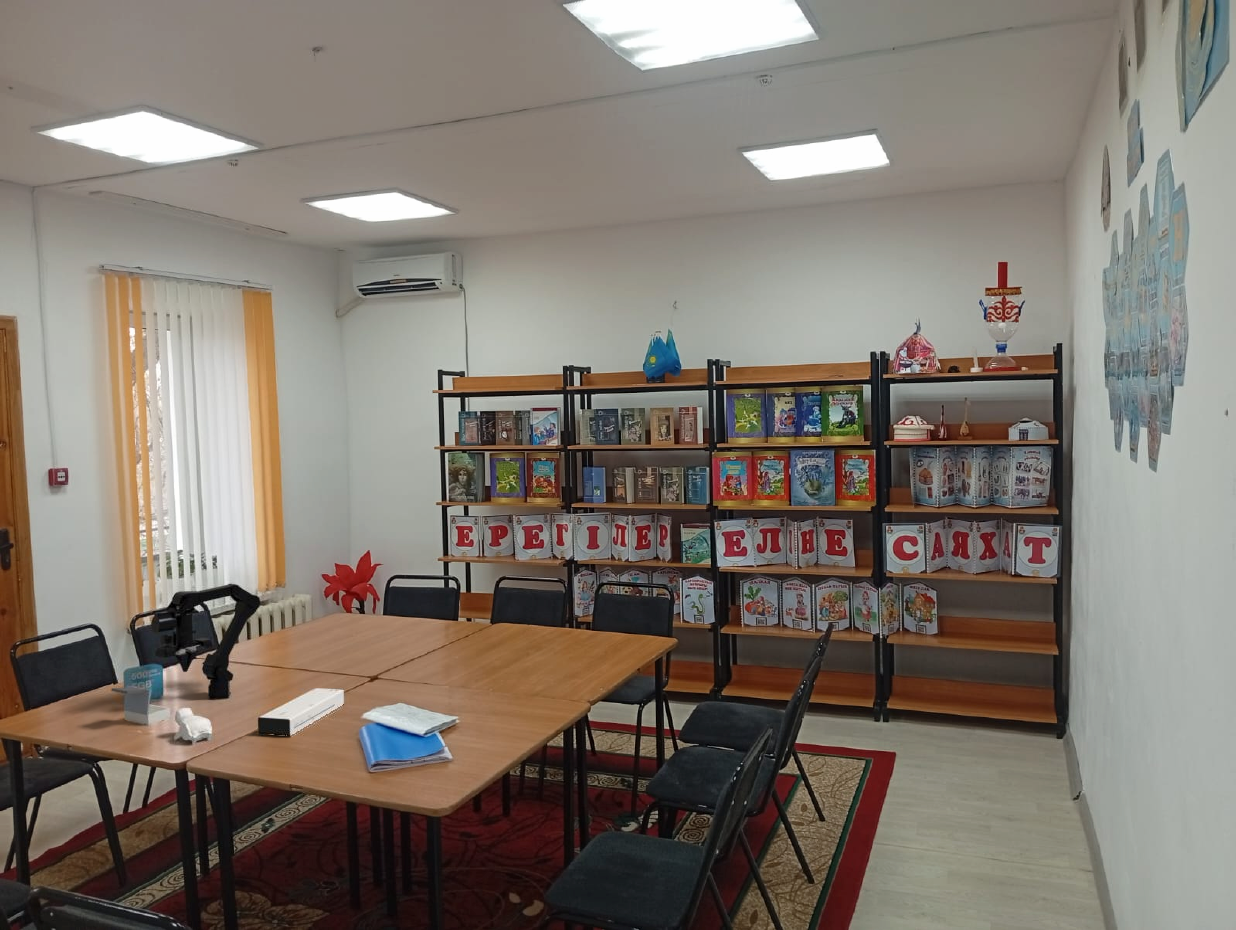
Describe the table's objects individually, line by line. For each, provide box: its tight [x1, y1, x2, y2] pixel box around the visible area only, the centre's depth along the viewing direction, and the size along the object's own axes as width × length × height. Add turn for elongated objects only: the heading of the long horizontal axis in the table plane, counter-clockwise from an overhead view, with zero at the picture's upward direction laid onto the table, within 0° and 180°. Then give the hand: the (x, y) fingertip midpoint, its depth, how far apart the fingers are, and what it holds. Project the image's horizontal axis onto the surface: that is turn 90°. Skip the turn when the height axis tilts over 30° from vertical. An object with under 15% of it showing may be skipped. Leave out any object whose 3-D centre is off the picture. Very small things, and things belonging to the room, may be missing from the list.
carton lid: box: [111, 686, 151, 715], centre depth 299 cm, size 8×12×7 cm
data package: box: [122, 663, 164, 701], centre depth 328 cm, size 12×4×12 cm, turn 142°
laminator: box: [257, 687, 345, 737], centre depth 304 cm, size 34×12×6 cm, turn 168°
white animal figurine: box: [173, 707, 213, 745], centre depth 286 cm, size 9×8×15 cm
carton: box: [124, 704, 171, 726], centre depth 305 cm, size 8×12×4 cm, turn 63°
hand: (185, 671), depth 320 cm, fingers closed
